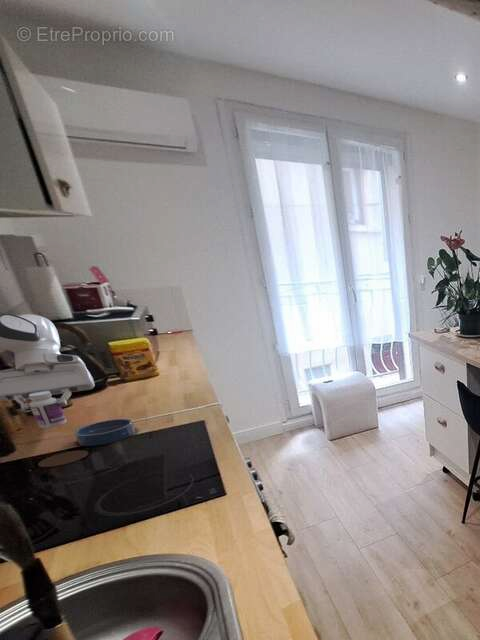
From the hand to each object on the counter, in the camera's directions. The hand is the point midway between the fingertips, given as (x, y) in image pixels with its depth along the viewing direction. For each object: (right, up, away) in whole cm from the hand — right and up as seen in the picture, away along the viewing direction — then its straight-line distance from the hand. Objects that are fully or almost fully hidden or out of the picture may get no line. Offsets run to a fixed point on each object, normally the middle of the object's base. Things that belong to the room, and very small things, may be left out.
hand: (45, 407), depth 114 cm
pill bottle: (0, -5, +2) cm, 6 cm away
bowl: (-2, -10, +19) cm, 22 cm away
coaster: (0, -16, +5) cm, 16 cm away
